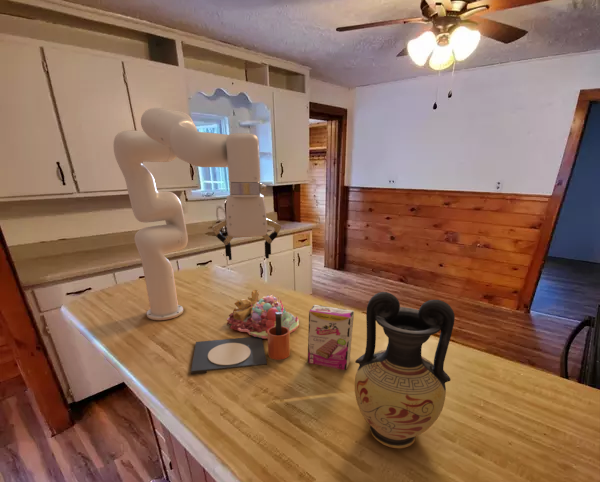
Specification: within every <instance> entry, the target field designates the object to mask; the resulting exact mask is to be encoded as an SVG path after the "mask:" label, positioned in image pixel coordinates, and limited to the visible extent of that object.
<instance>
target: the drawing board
mask: <svg viewBox="0 0 600 482" xmlns="http://www.w3.org/2000/svg"><path fill="white" fill-rule="evenodd" d="M267 365H268V361H267V357H266V351H265V346H264V342H263V338H260V337H255V336H248V337H236V338H225V339H223V338H222V339H213V340H200V341H195V344H194V351H193V357H192V363H191V369H190V375H197V374H206V373H207V372H211V371H212V372H213V371H221V370H229V369H230V370H231V369H239V368H240V369H241V368H249V367H261V366H267Z"/></svg>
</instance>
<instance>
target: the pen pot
mask: <svg viewBox="0 0 600 482" xmlns="http://www.w3.org/2000/svg"><path fill="white" fill-rule="evenodd" d="M267 338H268V339H267V355H268V357H269V358H270V359H272V360H276V361H281V360H285V359H288V357H290V355H291V333H290V331H289V329H288V328H286V327H283V326H282V335H279V336H277V335H276V326H275V327H271V328H269V329H268V331H267Z"/></svg>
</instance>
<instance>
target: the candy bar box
mask: <svg viewBox="0 0 600 482" xmlns="http://www.w3.org/2000/svg"><path fill="white" fill-rule="evenodd" d="M354 317H355V310H352V309H346V308H339V307H332V306H326V305H320V304H313V306H312V307H311V308H309V311H308V334H307V336H308V337H307V363H308V364H311V365H317V366H322V367H327V368H331V369H332V368H333V369H339V370H343V371H346V370H347V369H348V367H349V365H350V362H351V352H352V351H351V350H352V340H353V339H352V338H353V327H354Z"/></svg>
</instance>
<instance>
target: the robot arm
mask: <svg viewBox="0 0 600 482" xmlns="http://www.w3.org/2000/svg"><path fill="white" fill-rule="evenodd" d="M140 125H141V128H142V130H123V131H120V132H118V133H117V134H116V135H115V137H114V139H113V154H114V157H115V158H114V159H115V160H116V163H117V165H118V167H119V169H120V171H121V174H122V176H123V178H124V181H125V185H126V189H127V193H128V196H129V197H128V198H129V201H130V205H131V209H132V214H133V216H134V218H135V219H136V220H137V222H139V223H155V222H156V223H157V222H163V221H165V224H158V225H151V226H146V227H143V228H140V229H138V230H137V231H136V233H135V234H134V244H135V247H136V249H137V252H138V255H139V259H140V261H141V266H142V271H143V276H144V281H145V282H144V283H145V286H146V287H145V288H146V292H147V297H148V303H149V304H148V305H149V308H148V310H147V311H146V317H147V318H148V319H149V320H152V321H153V320H154V321H165V320H171V319H176V318H177V317H179V316H181V315H182V314H183V313H184V307H183V306H182V305H180V304H179V303H178V296H177V295H178V294H177V289H176V288H177V287H176V281H175V275H174V268H173V265H172V263H171V261H170V260H169V259H168V258H167V257H166V256H165V255H166V254H168V253H173V252H177V251H182V250H184V249H185V248H186V247H187V246H188V242H189V236H188V230H187V223H186V219H185V214H184V210H183V205H182V202H181V200H180V198H179V197H178V195H177V194H175V193H174V192H172V191H168V190H160V191H158V190H157V186H156V182H155V178H154V175H153V174H152V172H151V171H150V170H149V168H147V166H146V165H145V164H144V162H146V163H170V162H173V161H174V160H176V159H177V158H178V159H179V160H181V161H183V162H185V163H187V164H190V165H192V166H195V167H198V168H227V174H228V187H229V195H226V201H225V202H226V203H225V219H224V220H222V221H219V223H218V222H217V223H216V224H215V225H213V226H212V228H211V229H212V231H213V233H214V235H215V236H216V238H217V240H218V241H220V242H221V243H222V244H223V245H224V249H225V257H228V261H232V259H233V258H232V257H233V256H232V245H231V244H232V243H231V241H232V240H233V238H257V237H258V238H259V237H262V238H263V239H264V240H265V241H264V256H265V259H270V255H272V243H273V241H274V240H275V239H276V238H277V236H278V235H279V234H280V233H279V232H280V231H281V229H282V225H281V224H280V223H277V222H275V221H273V220H271V219H269V218H267V209H266V208H267V207H266V201H265V197H264V194H262V192H264V191H267V184H263V183H262V181H261V167H260V165H261V164H260V141H259V138H258V136H257V135H256V134H254V133H249V132H234V133H230V134H229V133H228V134H225V133H217V132H216V133H215V132H207V131H206V132H205V131H198V127H197V126H196V124H195V123H194V120H193V119H192V117H191V116H190V115H189V114H188V113H186V112H185V111H182V110H175V109H169V108H163V107H162V108H161V107H151V108H148V109H147V110H144V112H143V113H142V115H141V117H140ZM268 226H269V227H272V228H273V231H272V232H271V233H270V234H268ZM225 227H226V231H227V234H226V236H225V235H224V234H223V233H221V231H220V230H221V229H222V228H225Z"/></svg>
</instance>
